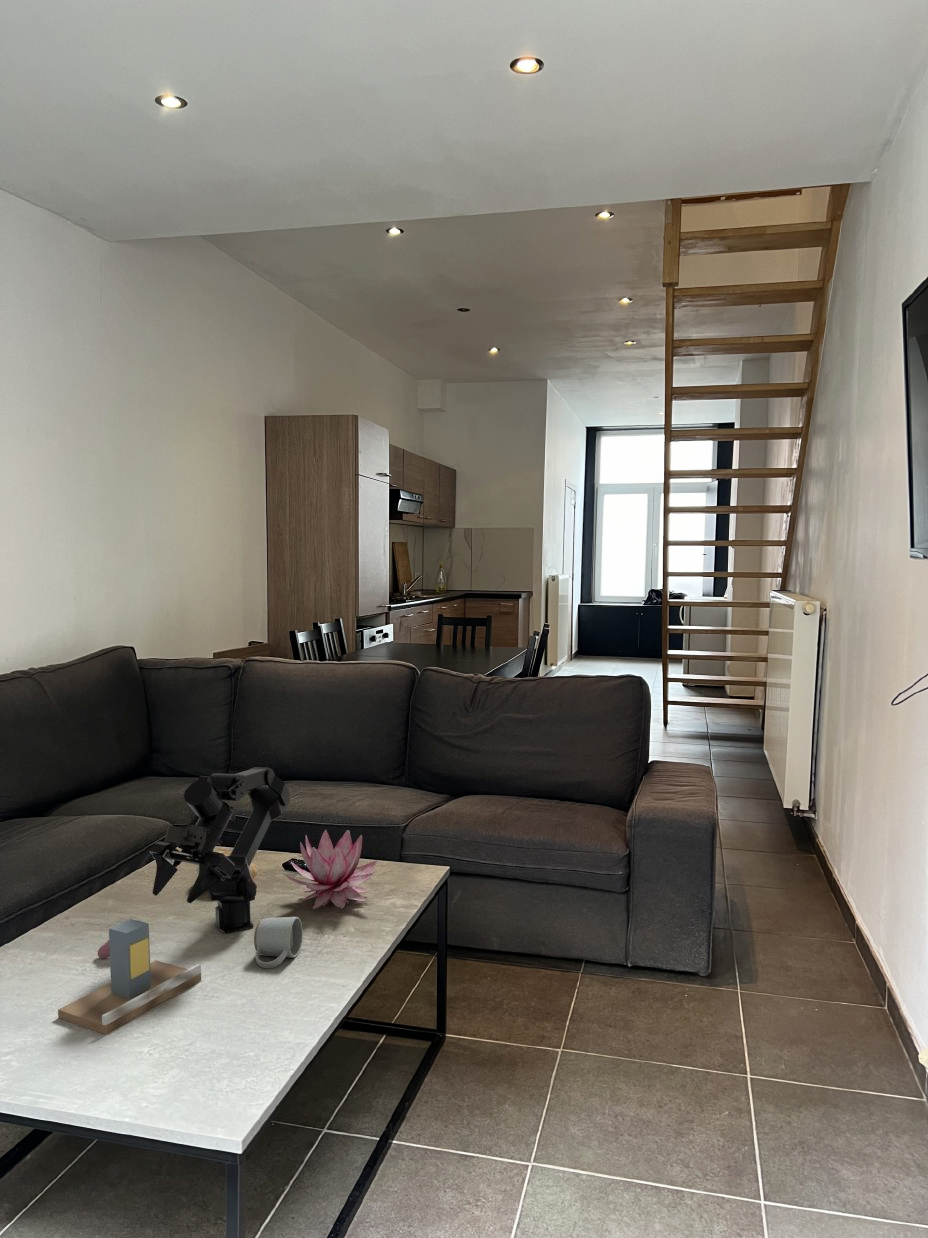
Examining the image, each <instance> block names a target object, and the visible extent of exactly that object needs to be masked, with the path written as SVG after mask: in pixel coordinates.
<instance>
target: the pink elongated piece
mask: <svg viewBox="0 0 928 1238" xmlns="http://www.w3.org/2000/svg"><path fill="white" fill-rule="evenodd" d="M133 919H134V920H136V918H133ZM97 956H98V958H100V959H107V958H110V945H109V939H108V941H107V942H105V943H104V944H103V945H101V946H100V947H99V949H98V950H97Z"/></svg>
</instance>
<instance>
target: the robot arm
mask: <svg viewBox="0 0 928 1238" xmlns="http://www.w3.org/2000/svg"><path fill="white" fill-rule="evenodd" d="M246 792H248V793H247V794H248V797H249V799H250V803H251V807H252V811H251V813H250V815H249V817H248V819H247V821H246V823H245V825H244V827H243V828H242V831H241V833H240V835H239V837H238V839H237V840H236V843H235V845H234V847H233V849H231V850H232V851H231V852H230V854H229V855H230V856H226V855H224V854H223V853H219V851H218V852H217V851H214V849H215V848H216V847H217V845H219V846H222V844H223V841H224V840H223V839H222V838H221V837H222V835H223V833H224V831H225V829H226V827H227V825H228V823H229V821H230V820H231V821H235V820H236V813H235V807H234V806H230V805H229V803H227V802H239V801H240V800H241V799H243V798H244V797H245V796H246ZM290 795H291V794H290V792H289V789H288V787H287V784H286V782H285V781H283V780H282V779H281V778H280V777H278V776H277V775H276V774H275V772H274V770H273V769H272V768H270V767H256V766H255V767H251V768H249V769H248V770H244V771H241V772H237V773H211V774H210V776H205V775H200V776H199V778H198V780H196V781H194V782H192V783H191V784H189V786H188V787H187V788H186V789H185V790H184V794H183V798H184V801H185V802H186V804H188V806H189V807H190V808H191V810H192V811H193V813H195V815H196V816H198V817H199V818H198V820H197V821H196V823H195V824H192V823H191V824H189V825H188V827H187V828H185V827H179V826H173V825H168V827H167V830H166V835H165V839H164V841H156V842H154V843H153V844H152V846H151V847H150V849H149V853H150V854H151V855H152V859H154V861H155V863H156V871H155V877H154V883H153V886H152V887H153V888H152V894H153V896H158V895H159V894H160V893H161V892H162V890H163V889H165V886H167V884H168V883H169V882H170V880H171V879H172V878H173V877H174V876H175V874H176V873H177V871H178V868H177V867H178V866H180V865H181V864H182V863H185V864H186V863H188V864H192V865H196V866H199V875H198V874H197V877H196V879H195V881H194V883H193V886H192V887H191V889H190V891H189V892H188V896H187V897H186V902H187V903H188V904H192V903H193V902H195V901H196V900H197V899H198V898H199V897H201V896H202V895H203V894H204V893H206V892H207V891H208V893H209V897H210V900H211V902H214V901H215V902H217V906H215V926H216V927H217V928H219V930H221V932H222V933H223V934H230V933H234V932H239V931H242V930H246V929H250V928H253V927H254V924H253V922H252V921H251V902H252V901H255V899H256V895H257V892H258V891H257V887H258V886H257V884H256V882H255V881H254V879H251V873H250V869H249V866H250V864H251V863H253V860H254V858H255V855H256V854H257V851H258V849H259V847H260V845H261V843H262V841H263V839H264V836H265V835H266V833H267V831H268V829H269V826H270V824H271V822H272V821H275V820H276V819H277V818H279V817H281V816H282V815H283V813H284V811H285V810H286V809H287V808H288V807H287V806H289V804H290V800H291V796H290ZM170 842H171V843H170ZM172 843H174V844H176V845H175V846H174V845H173V844H172ZM179 849H180V850H179Z"/></svg>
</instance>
